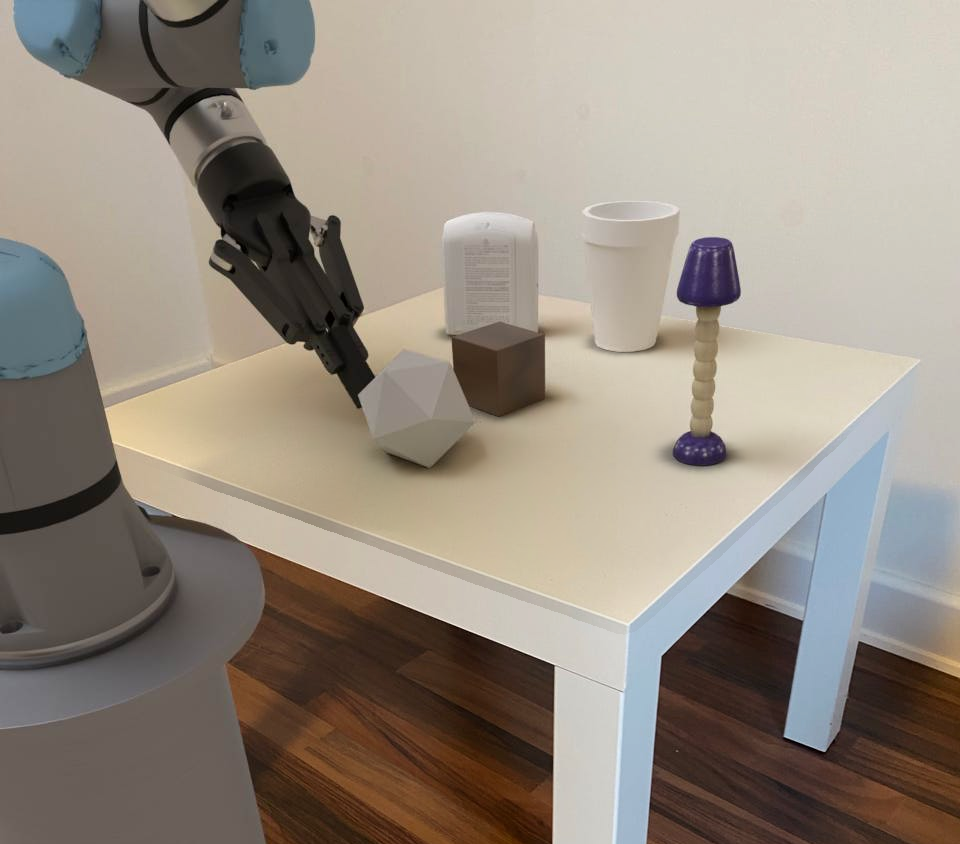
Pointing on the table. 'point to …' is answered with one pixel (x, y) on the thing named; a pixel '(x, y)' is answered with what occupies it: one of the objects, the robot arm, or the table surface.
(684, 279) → the toy lamp
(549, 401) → the table surface
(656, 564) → the table surface
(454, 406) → the die
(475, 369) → the walnut block
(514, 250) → the white boxy piece
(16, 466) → the robot arm
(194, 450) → the table surface
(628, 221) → the foam cup
